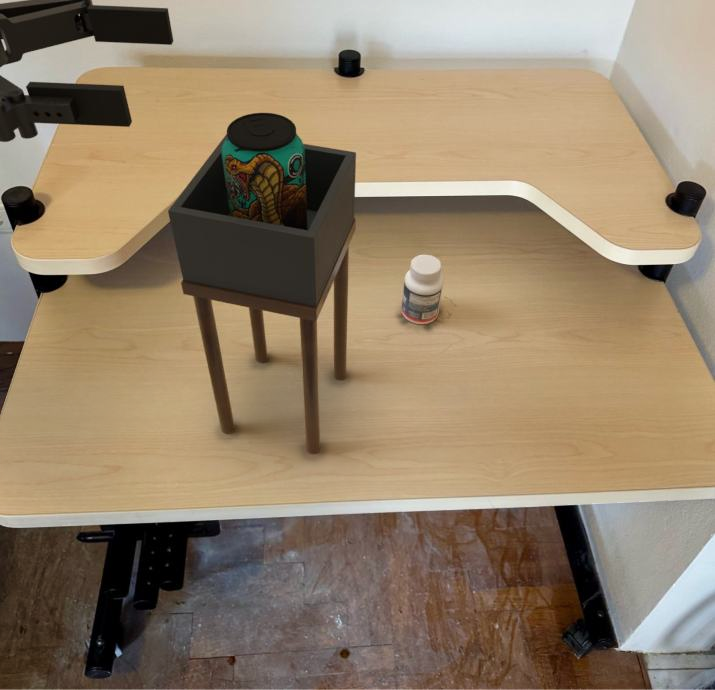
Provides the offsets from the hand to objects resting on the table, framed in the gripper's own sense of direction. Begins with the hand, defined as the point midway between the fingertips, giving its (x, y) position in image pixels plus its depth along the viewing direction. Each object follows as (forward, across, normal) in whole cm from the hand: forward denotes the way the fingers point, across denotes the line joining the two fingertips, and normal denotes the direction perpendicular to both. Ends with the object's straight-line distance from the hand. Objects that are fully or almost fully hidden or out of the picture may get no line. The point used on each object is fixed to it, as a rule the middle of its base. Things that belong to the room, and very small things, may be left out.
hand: (150, 63), depth 52 cm
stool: (+8, 0, -42) cm, 43 cm away
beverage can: (+8, 0, -17) cm, 19 cm away
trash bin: (+8, 0, -18) cm, 20 cm away
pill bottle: (+25, -17, -42) cm, 52 cm away
